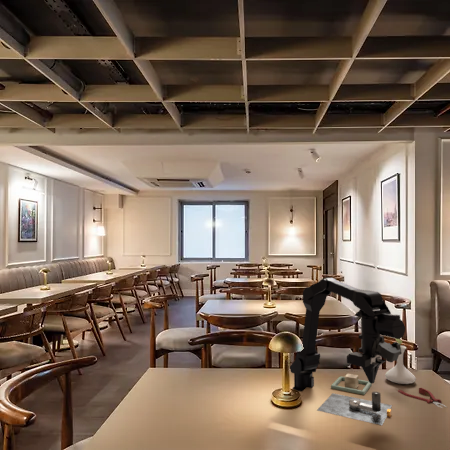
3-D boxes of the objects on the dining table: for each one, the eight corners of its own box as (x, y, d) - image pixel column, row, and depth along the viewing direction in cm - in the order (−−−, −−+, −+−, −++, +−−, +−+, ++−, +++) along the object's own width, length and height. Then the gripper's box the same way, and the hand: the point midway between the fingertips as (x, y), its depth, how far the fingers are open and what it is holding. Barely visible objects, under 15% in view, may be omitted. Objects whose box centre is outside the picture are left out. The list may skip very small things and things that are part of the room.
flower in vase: (388, 375, 166) (387, 315, 167) (418, 380, 160) (417, 317, 161) (380, 384, 156) (379, 319, 157) (412, 390, 149) (410, 323, 150)
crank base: (316, 414, 128) (316, 405, 128) (332, 397, 142) (332, 388, 142) (385, 431, 117) (385, 420, 117) (395, 410, 131) (395, 401, 131)
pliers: (438, 419, 125) (437, 411, 125) (395, 396, 145) (395, 388, 145) (467, 416, 128) (467, 408, 128) (421, 393, 147) (421, 386, 148)
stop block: (344, 390, 148) (344, 376, 149) (347, 386, 152) (347, 373, 152) (355, 392, 146) (355, 378, 146) (358, 388, 150) (358, 375, 150)
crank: (347, 407, 130) (347, 388, 130) (351, 403, 132) (351, 385, 133) (378, 415, 123) (378, 395, 123) (382, 412, 126) (382, 392, 126)
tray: (331, 392, 147) (330, 385, 147) (340, 382, 157) (340, 376, 157) (364, 399, 141) (364, 391, 141) (371, 388, 151) (371, 381, 151)
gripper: (379, 342, 112) (380, 398, 111) (410, 332, 124) (411, 383, 123) (345, 335, 121) (346, 387, 120) (377, 326, 133) (378, 374, 132)
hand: (371, 383), depth 123 cm, fingers closed
